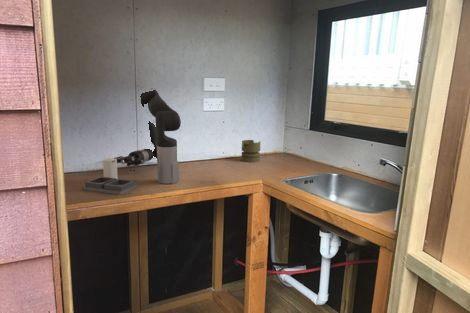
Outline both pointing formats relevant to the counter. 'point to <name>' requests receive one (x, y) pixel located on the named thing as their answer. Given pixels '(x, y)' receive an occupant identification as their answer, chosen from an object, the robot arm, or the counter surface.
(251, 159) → the piston
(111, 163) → the block
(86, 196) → the counter surface
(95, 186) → the grey flat tray
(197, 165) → the counter surface
